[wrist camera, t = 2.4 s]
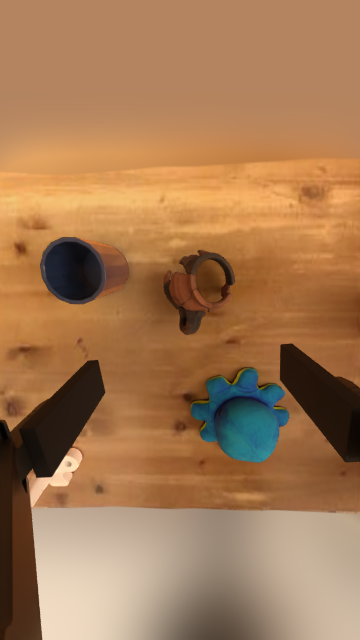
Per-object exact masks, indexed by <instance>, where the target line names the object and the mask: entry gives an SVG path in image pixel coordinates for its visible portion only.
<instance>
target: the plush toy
mask: <svg viewBox="0 0 360 640" xmlns="http://www.w3.org/2000/svg"><path fill="white" fill-rule="evenodd" d="M258 376H259V374H258V372H257V371H256V370H255V369H251V368H247V369H246V368H244V369H243V370H241V371H239V373H238V374H237V378H235V380H234V382H233V383H232V384H230V383H229V382H228V381H227V379H226V378H224V377H223V376H216V377H213V378H210V379H209V380H208V381H207V384H206V386H207V391H208V393H209V396H210V397H209V401H203V400H199V401H194V402H193V403H192V404H191V406H190V410H191V415H192V416H193V417H194V418H195V419H198V420H200V421H206V422H205V423H204V425H203V427H201V430H200V436H201V438H202V439H203V440H204V441H207V442H214V441H218V443H219V445H220V447H221V449H222V450H223V452H224V453H225V454H227V455H228V456H229V457H231V458H233V459H236V460H242V461H249V462H257V463H259V462H263V461H265V460H266V459H267V458H268V457H269V456H270V455H271V454H272V452H273V451H274V449H275V447H276V444H277V441H278V438H279V427H281V426H284V425H286V423H287V422H288V419H289V413H288V411H287V410H286V409H285V408H282V407H274V405H275V404H276V403H277V401H279V400H280V399H281V398H282V397H284V395H285V392H284V391H283V390H282V388H280V387H279V386H278V385H276V384H267V386H264V387H262V388H258V386H257V381H258Z"/></svg>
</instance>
